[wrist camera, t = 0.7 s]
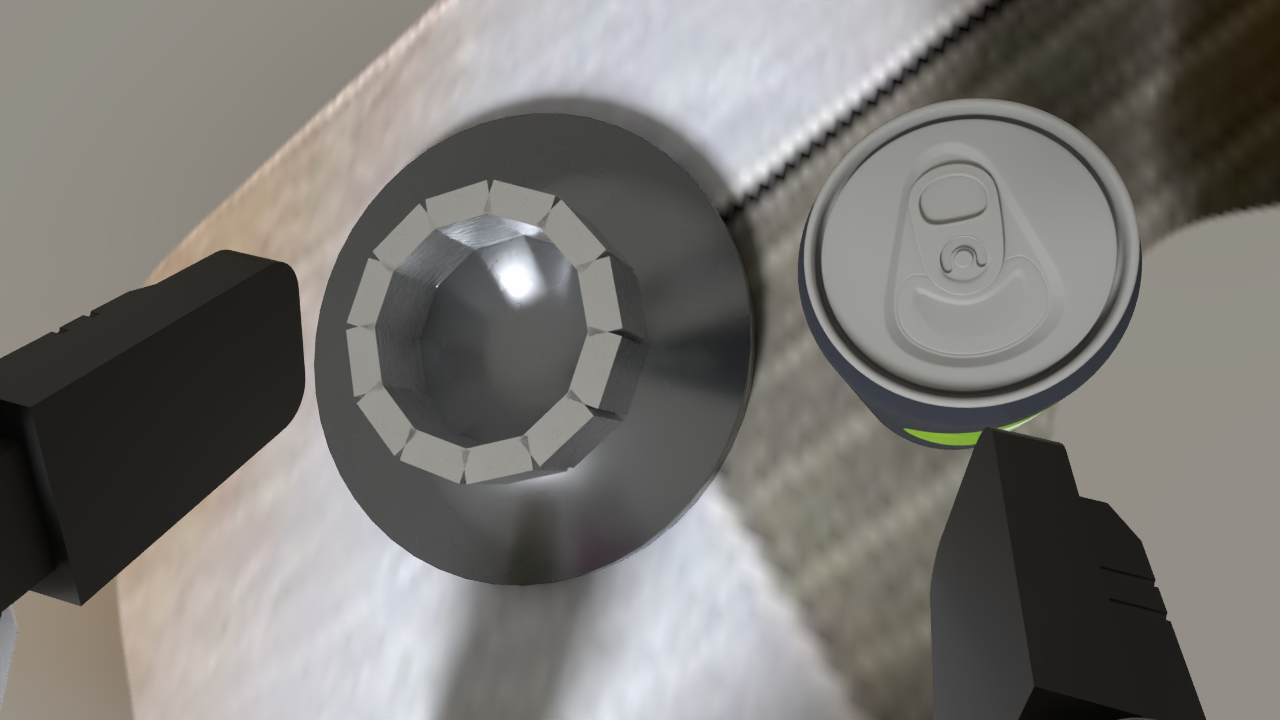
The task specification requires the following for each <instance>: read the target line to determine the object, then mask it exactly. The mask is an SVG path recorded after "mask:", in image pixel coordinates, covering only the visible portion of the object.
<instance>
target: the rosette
mask: <svg viewBox="0 0 1280 720" xmlns="http://www.w3.org/2000/svg"><path fill="white" fill-rule="evenodd" d="M755 356H756V320H755V313H754V306H753V299H752V292H751V287H750V284H749V280H748V277H747V273H746V270H745V266H744V263H743V259H742V257H741V255H740V252H739V250H738V248H737V246H736V243H735V241H734V239H733V236H732V234H731V232H730V230H729V229H728V227H727V225H726V224H725V222H724V220H723V219H722V217H721V216H720V214H719V212H718V211H717V209H716V208H715V206H714V205H713V203H712V202H711V201H710V200H709V198H708V197H707V196H706V195H705V193H704V192H703V191H702V190H701V189H700V187H699V186H698V185H697V184H696V183H695V181H694V180H693V179H692V178H691V177H690V175H689V174H688V173H687V172H686V171H685V170H683V169H682V168H681V167H680V166H679V165H678V164H677V163H676V162H674V161H673V160H672V159H671V158H670V157H669V156H668V155H667V154H665V153H664V152H662V151H661V150H659V149H658V148H656V147H655V146H653V145H652V144H650V143H649V142H647V141H646V140H644V139H643V138H641V137H639V136H637V135H634V134H632V133H630V132H628V131H626V130H624V129H622V128H619V127H617V126H615V125H611V124H608V123H605V122H601V121H598V120H595V119H591V118H587V117H580V116H573V115H567V114H527V115H519V116H512V117H505V118H502V119H498V120H494V121H490V122H487V123H483V124H479V125H477V126H475V127H472V128H470V129H467V130H465V131H462V132H460V133H458V134H455V135H453V136H451V137H450V138H448V139H446V140H444V141H442V142H441V143H439V144H437V145H435V146H434V147H432V148H430V149H429V150H427V151H426V152H425V153H423V154H422V155H420V156H419V157H418V158H416V159H415V160H414V161H412V162H411V163H410V164H408V165H407V166H406V167H405V168H404V169H403V170H402V171H400V172H399V173H398V174H397V175H396V176H395V177H394V178H393V179H392V180H391V181H390V182H389V183H388V184H387V185H386V186H385V187H384V188H383V189H382V190H381V192H380V193H379V194H378V195H377V196H376V197H375V199H374V200H373V201H372V202H371V203H370V204H369V206H368V207H367V208H366V210H365V211H364V213H363V214H362V216H361V217H360V219H359V220H358V222H357V223H356V225H355V226H354V227H353V229H352V231H351V233H350V234H349V236H348V238H347V240H346V242H345V244H344V246H343V248H342V249H341V251H340V253H339V255H338V258H337V260H336V263H335V265H334V268H333V270H332V273H331V275H330V278H329V280H328V284H327V287H326V291H325V294H324V298H323V301H322V305H321V309H320V315H319V321H318V327H317V333H316V342H315V361H314V370H315V387H316V397H317V403H318V409H319V415H320V420H321V424H322V428H323V431H324V434H325V438H326V441H327V444H328V448H329V450H330V453H331V455H332V457H333V459H334V462H335V464H336V466H337V469H338V471H339V473H340V475H341V477H342V479H343V480H344V482H345V484H346V485H347V487H348V489H349V490H350V492H351V494H352V495H353V497H354V499H355V500H356V501H357V502H358V504H359V505H360V506H361V507H362V509H363V510H364V511H365V513H366V514H367V515H368V516H369V518H370V519H371V520H372V521H373V522H374V523H375V524H376V525H377V526H378V527H379V528H380V529H381V530H382V531H383V532H384V533H385V534H386V535H387V536H388V537H389V538H390V539H391V540H393V541H394V542H396V543H397V544H398V545H400V546H401V547H402V548H404V549H405V550H407V551H408V552H409V553H411V554H412V555H413V556H415V557H417V558H419V559H421V560H423V561H424V562H426V563H428V564H430V565H432V566H434V567H436V568H438V569H440V570H443V571H445V572H448V573H451V574H454V575H457V576H460V577H462V578H465V579H470V580H475V581H480V582H485V583H490V584H500V585H522V586H524V585H534V584H544V583H553V582H557V581H561V580H565V579H569V578H573V577H577V576H581V575H585V574H589V573H592V572H596V571H598V570H601V569H603V568H605V567H608V566H610V565H613V564H615V563H618V562H620V561H622V560H624V559H626V558H628V557H629V556H631V555H633V554H634V553H636V552H638V551H640V550H641V549H643V548H645V547H646V546H648V545H650V544H651V543H652V542H654V541H655V540H656V539H657V538H659V537H660V536H661V535H662V534H664V533H665V532H666V531H668V530H669V529H670V528H671V527H673V526H674V525H675V524H676V523H677V522H678V521H679V520H680V519H681V518H682V517H683V516H684V515H685V514H686V513H687V512H688V510H689V509H690V508H691V507H692V506H693V505H694V504H695V503H696V502H697V501H698V500H699V498H700V497H701V495H702V494H703V493H704V491H705V490H706V489H707V487H708V486H709V485H710V483H711V482H712V481H713V479H714V478H715V477H716V475H717V473H718V471H719V470H720V468H721V466H722V464H723V462H724V461H725V459H726V457H727V455H728V453H729V452H730V450H731V448H732V446H733V443H734V441H735V438H736V436H737V433H738V431H739V428H740V426H741V423H742V421H743V418H744V415H745V411H746V407H747V403H748V399H749V395H750V391H751V387H752V381H753V373H754V365H755Z"/></svg>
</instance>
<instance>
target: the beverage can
mask: <svg viewBox="0 0 1280 720" xmlns="http://www.w3.org/2000/svg"><path fill="white" fill-rule="evenodd" d="M1141 272H1142V253H1141V243H1140V237H1139V228H1138V222H1137V217H1136V213H1135V209H1134V206H1133V203H1132V200H1131V197H1130V195H1129V192H1128V190H1127V188H1126V186H1125V184H1124V182H1123V180H1122V178H1121V176H1120V175H1119V173H1118V171H1117V170H1116V168H1115V167H1114V165H1113V164H1112V163H1111V161H1110V160H1109V159H1108V157H1107V156H1106V155H1105V154H1104V153H1103V151H1102V150H1101V149H1100V148H1099V147H1098V146H1097V145H1096V144H1095V143H1094V142H1093V141H1091V140H1090V139H1089V138H1088V137H1087V136H1086V135H1084V134H1083V133H1082V132H1081V131H1079V130H1078V129H1076V128H1075V127H1073V126H1072V125H1070V124H1069V123H1067V122H1065V121H1064V120H1062V119H1060V118H1058V117H1056V116H1054V115H1052V114H1050V113H1048V112H1045V111H1043V110H1040V109H1038V108H1035V107H1032V106H1029V105H1025V104H1022V103H1017V102H1012V101H1007V100H1000V99H990V98H966V99H955V100H948V101H942V102H938V103H933V104H930V105H926V106H923V107H920V108H917V109H914V110H911V111H909V112H906V113H904V114H902V115H900V116H897V117H895V118H894V119H892V120H890V121H888V122H886V123H884V124H883V125H881V126H880V127H878V128H876V129H875V130H874V131H872V132H871V133H869V134H868V135H867V136H865V137H864V138H863V139H862V140H860V141H859V142H858V143H857V144H856V145H855V146H854V147H853V148H852V149H851V150H850V151H849V152H848V153H847V154H846V155H845V156H844V157H843V158H842V159H841V160H840V162H839V163H838V164H837V165H836V167H835V168H834V169H833V171H832V172H831V174H830V175H829V177H828V178H827V180H826V182H825V183H824V185H823V187H822V189H821V190H820V192H819V194H818V196H817V198H816V200H815V202H814V204H813V206H812V209H811V211H810V213H809V216H808V218H807V221H806V224H805V227H804V231H803V234H802V239H801V243H800V250H799V259H798V284H799V292H800V298H801V303H802V307H803V311H804V314H805V317H806V320H807V323H808V325H809V328H810V330H811V332H812V335H813V337H814V339H815V341H816V342H817V344H818V346H819V348H820V349H821V351H822V352H823V354H824V355H825V357H826V358H827V360H828V361H829V362H830V363H831V365H832V366H833V367H834V368H835V370H836V371H837V372H838V373H839V374H840V375H841V377H842V378H843V379H844V380H845V381H846V382H847V384H848V385H849V386H850V387H851V388H852V389H853V391H854V392H855V393H856V394H857V395H858V396H859V398H860V399H861V400H862V401H863V402H864V404H865V405H866V406H867V407H868V408H869V409H870V411H871V412H872V413H873V414H874V415H875V416H876V417H877V418H878V419H879V420H880V421H881V422H882V423H883V424H884V425H885V426H886V427H888V428H889V429H890V430H891V431H893V432H894V433H896V434H898V435H899V436H901V437H903V438H905V439H907V440H909V441H911V442H914V443H917V444H919V445H923V446H926V447H931V448H937V449H946V450H959V449H968V448H974V447H975V445H976V442H977V440H978V438H979V436H980V434H981V433H982V431H983V430H984V429H985V428H986V427H988V426H989V427H994V428H998V429H1002V430H1007V431H1011V432H1012V431H1013V430H1015V429H1016V428H1018V427H1020V426H1021V425H1023V424H1024V423H1026V422H1027V421H1029V420H1031V419H1032V418H1034V417H1035V416H1037V415H1038V414H1040V413H1041V412H1043V411H1045V410H1046V409H1048V408H1049V407H1051V406H1052V405H1054V404H1055V403H1057V402H1059V401H1060V400H1062V399H1063V398H1065V397H1066V396H1068V395H1069V394H1071V393H1072V392H1074V391H1075V390H1076V389H1077V388H1079V387H1080V386H1081V385H1083V384H1084V383H1085V382H1086V381H1087V380H1088V379H1089V378H1090V377H1091V376H1093V375H1094V374H1095V373H1096V371H1097V370H1098V369H1099V368H1100V367H1101V366H1102V365H1103V364H1104V363H1105V361H1106V360H1107V359H1108V358H1109V356H1110V355H1111V354H1112V352H1113V351H1114V350H1115V348H1116V347H1117V345H1118V343H1119V341H1120V340H1121V338H1122V337H1123V335H1124V333H1125V331H1126V329H1127V327H1128V325H1129V322H1130V320H1131V317H1132V315H1133V312H1134V309H1135V306H1136V302H1137V299H1138V294H1139V288H1140V282H1141Z"/></svg>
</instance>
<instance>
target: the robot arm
mask: <svg viewBox="0 0 1280 720" xmlns="http://www.w3.org/2000/svg"><path fill="white" fill-rule="evenodd" d="M304 389H305V365H304V352H303V339H302V326H301V312H300V299H299V287H298V281H297V277H296V275H295V272H294V271H293V269H292V268H291V267H290V266H289V265H288V264H286V263H284V262H280V261H275V260H271V259H267V258H262V257H258V256H254V255H249V254H245V253H240V252H236V251H232V250H221V251H218V252H216V253H214V254H212V255H210V256H208V257H206V258H204V259H202V260H201V261H199V262H197V263H195V264H193V265H191V266H189V267H187V268H185V269H184V270H182V271H180V272H178V273H176V274H174V275H172V276H170V277H168V278H167V279H165V280H163V281H161V282H159V283H157V284H155V285H151V286H147V287H144V288H140V289H137V290H133V291H129V292H127V293H125V294H123V295H121V296H119V297H117V298H115V299H114V300H112V301H110V302H108V303H106V304H104V305H102V306H100V307H98V308H96V309H94V310H92V311H91V314H90V316H89V317H88V316H84V315H83V316H81V317H79V318H77V319H75V320H73V321H72V322H70V323H67V324H65V325H64V326H62V327H60V331H59V332H58V333H55V332H50V333H48V334H46V335H44V336H42V337H41V338H39V339H37V340H35V341H33V342H31V343H29V344H27V345H25V346H23V347H21V348H19V349H18V350H16V351H14V352H12V353H10V354H8V355H6V356H4V357H2V358H0V709H1V705H2V700H3V696H4V691H5V687H6V682H7V677H8V673H9V668H10V664H11V659H12V655H13V650H14V646H15V641H16V636H17V631H18V622H17V617H16V614H15V611H14V608H13V603H14V602H15V601H16V600H18V599H19V598H20V597H21V596H23V595H24V594H25V593H26V592H27V591H28V590H31V591H34V592H37V593H40V594H43V595H47V596H50V597H53V598H56V599H60V600H63V601H66V602H69V603H72V604H75V605H79V606H82V605H83V604H84V603H85V602H86V601H88V600H89V599H90V598H91V597H92V596H93V595H94V594H96V593H97V592H98V591H99V590H100V589H101V588H102V587H104V586H105V585H106V584H107V583H108V582H109V581H110V580H112V579H113V578H114V577H115V576H116V575H117V574H119V573H120V572H121V571H122V570H123V569H124V568H125V567H127V566H128V565H129V564H130V563H131V562H132V561H133V560H135V559H136V558H137V557H138V556H139V555H140V554H141V553H143V552H144V551H145V550H146V549H147V548H148V547H149V546H151V545H152V544H153V543H154V542H155V541H156V540H157V539H159V538H160V537H161V536H162V535H163V534H164V533H165V532H167V531H168V530H169V529H170V528H171V527H172V526H173V525H175V524H176V523H177V522H178V521H179V520H180V519H182V518H183V517H184V516H185V515H186V514H187V513H188V512H190V511H191V510H192V509H193V508H194V507H195V506H196V505H198V504H199V503H200V502H201V501H202V500H203V499H204V498H206V497H207V496H208V495H209V494H210V493H211V492H212V491H214V490H215V489H216V488H217V487H218V486H219V485H220V484H222V483H223V482H224V481H225V480H226V479H227V478H228V477H230V476H231V475H232V474H233V473H234V472H235V471H236V470H238V469H239V468H240V467H241V466H242V465H243V464H244V463H246V462H247V461H248V460H249V459H250V458H251V457H252V456H254V455H255V454H256V453H257V452H258V451H259V450H261V449H262V448H263V447H264V446H265V445H266V444H267V443H269V442H270V441H271V440H272V439H273V438H274V437H275V436H277V435H278V434H279V433H280V432H281V431H282V430H283V429H285V428H286V427H287V426H288V425H289V423H290V422H291V421H292V419H293V418H294V416H295V415H296V413H297V411H298V409H299V406H300V404H301V401H302V398H303V394H304ZM1154 582H1155V577H1154V575H1153V572H1152V569H1151V566H1150V564H1149V561H1148V558H1147V555H1146V553H1145V550H1144V547H1143V544H1142V542H1141V540H1140V539H1139V538H1138V537H1137V536H1136V535H1135V533H1134V532H1133V531H1132V530H1131V529H1130V528H1129V527H1128V526H1127V524H1126V523H1125V522H1124V521H1123V520H1122V519H1121V518H1120V517H1119V516H1118V514H1117V513H1116V512H1115V511H1114V510H1113V509H1112V508H1111V507H1110V506H1109V504H1108V503H1105V502H1101V501H1096V500H1092V499H1088V498H1084V497H1080V496H1079V494H1078V490H1077V487H1076V483H1075V480H1074V476H1073V473H1072V469H1071V466H1070V463H1069V459H1068V456H1067V452H1066V449H1065V447H1064V445H1063V444H1061V443H1059V442H1054V441H1050V440H1046V439H1041V438H1037V437H1033V436H1028V435H1024V434H1020V433H1015V432H1011V431H1007V430H1002V429H998V428H994V427H989V426H988V427H986V428H985V429H984V430H983V431H982V433H981V434H980V436H979V438H978V440H977V442H976V445H975V448H974V450H973V453H972V456H971V458H970V461H969V464H968V467H967V469H966V472H965V475H964V477H963V480H962V483H961V486H960V488H959V491H958V494H957V496H956V499H955V502H954V505H953V507H952V510H951V513H950V516H949V518H948V521H947V524H946V526H945V529H944V532H943V535H942V537H941V540H940V543H939V547H938V550H937V554H936V558H935V563H934V568H933V573H932V580H931V591H930V607H931V634H932V661H933V688H934V715H935V720H1206V718H1205V715H1204V712H1203V709H1202V707H1201V704H1200V701H1199V699H1198V696H1197V693H1196V690H1195V687H1194V685H1193V682H1192V679H1191V677H1190V674H1189V671H1188V668H1187V665H1186V663H1185V660H1184V657H1183V654H1182V652H1181V649H1180V646H1179V644H1178V641H1177V638H1176V635H1175V632H1174V630H1173V627H1172V624H1171V622H1170V621H1167V620H1166V615H1167V610H1166V608H1165V605H1164V602H1163V599H1162V597H1161V594H1160V591H1159V589H1158V588H1157V587H1154Z"/></svg>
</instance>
